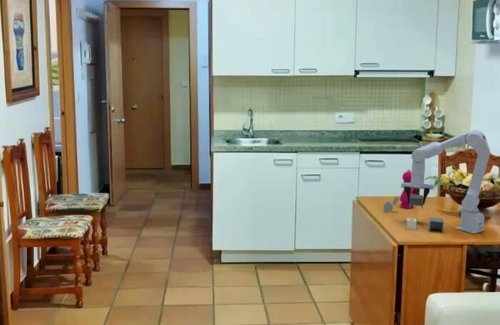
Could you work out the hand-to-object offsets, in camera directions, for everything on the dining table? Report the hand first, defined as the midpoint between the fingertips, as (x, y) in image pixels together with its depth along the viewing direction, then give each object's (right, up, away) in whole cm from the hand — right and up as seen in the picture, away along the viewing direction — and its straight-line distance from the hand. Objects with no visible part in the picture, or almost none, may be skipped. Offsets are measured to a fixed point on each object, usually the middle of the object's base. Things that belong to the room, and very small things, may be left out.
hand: (416, 203), depth 274 cm
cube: (-4, -11, -8) cm, 14 cm away
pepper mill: (+3, -4, +29) cm, 30 cm away
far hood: (0, -1, 0) cm, 2 cm away
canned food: (+10, -2, +43) cm, 44 cm away
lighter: (-7, -6, +20) cm, 22 cm away
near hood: (+6, -11, -11) cm, 17 cm away
